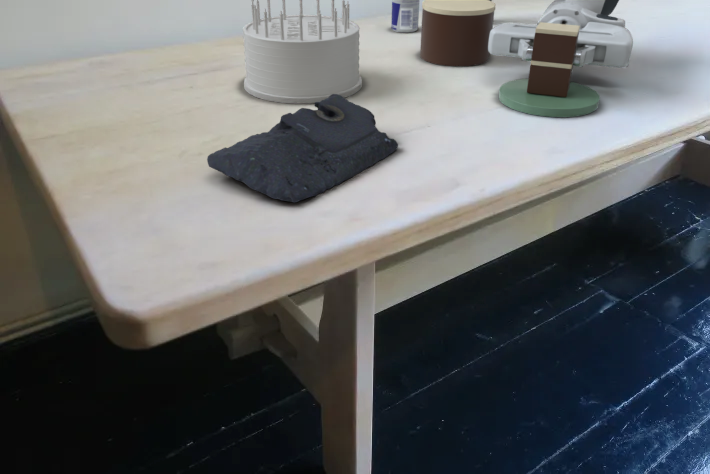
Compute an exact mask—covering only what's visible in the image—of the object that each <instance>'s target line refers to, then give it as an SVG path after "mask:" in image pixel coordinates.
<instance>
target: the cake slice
mask: <svg viewBox="0 0 710 474" xmlns="http://www.w3.org/2000/svg"><path fill="white" fill-rule="evenodd" d="M579 30H580V26H578V25H566V24H555V23H543V22H540V23H539V24H538V26H537V27H536V30H535V37H534V44H533V51H532V58H531V61H530V67H529V71H528V78H529V79H528V86H527V93H534V94H543V95H551V96H559V97H566V96H567V93H568V90H569V86H570V82H571V79H572V74H573V68H574V66H572V64H573V60H574V59H573V58H574V53H575V50H576V46H577V41H578V35H579Z"/></svg>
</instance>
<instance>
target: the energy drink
mask: <svg viewBox="0 0 710 474" xmlns="http://www.w3.org/2000/svg"><path fill="white" fill-rule="evenodd" d="M419 18H420V0H391V22H390V23H391V25H390V26H391V27H390V28H391V30H392V31H393V32H397V33H403V34H404V33H407V34H408V33H414V32H417V30H419Z"/></svg>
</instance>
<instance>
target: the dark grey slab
mask: <svg viewBox="0 0 710 474" xmlns="http://www.w3.org/2000/svg"><path fill="white" fill-rule="evenodd" d="M313 104H314V107H315V108H317V109H311V108H306V107H301V108H299V109H297V111H295V112H294V113H292V112H288V113H285V114H282V115H281V116H280V121H279V122H278V123H276V124H275V125H274V126H273V127H271V128H270V129H269V131H267V132H266V131H265V132H261V133H256V134H252V135H250V136H248V137H247V138H244V139H242V140H241V141H238V142H236V143H234V144H233V145H231V146H229V147H223V148H221V149H219V150H216V151H214V152H212V153H209V155H208V156H207V158H206V161H207V165H208V167H209V168H210V169H212V170H216V171H218V172H220V173H222V174H223V175H225V176H227V177H230V178H233V179H234V180H235V181H239V182H242V183H244V184H245V185H246V186H247V187H248V188H250V189H252V190H254V191H256V192H259V193H261V194H263V195H265V196H268V197H269V198H272V199H274V200H280V201H283V202H291V203H298V202H300V201H302V200H306V199H308V198H312V197H316V196H317V195H319V194H322V193H324V192H325V191H326V190H329V189H332V188H333V187H335V186H338V185H340V184H342V183H343V182H344V181H347V180H349V179H351V178H354V177H355V175H357V174H360V173H361V172H362V171H365V170H367V169H368V168H369V167H372V166H374V164H376V163H379V161H381V160H384V159H385V158H387V157H389V156H390V154H393V153H394V152H395V151H397V149H398V147H399V144H398V142H397V141H396V140H395V139H394V138H391V137H389V136H388V135H387V133H386V132H381V131H380V130H379V129H378V128H377V126H376V125H377V121H376V119H375V114H373V112H371V110H369V109H367V108H366V107H364V106H362V105H359V104H356V103H354V102H352V101H349V100H348V99H346V97H345V98H343V97H342V96H341V95H338V94H332V95H330V96H329V97H328V98H326V99H324V100H322V101H320V102H315V103H313Z"/></svg>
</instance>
